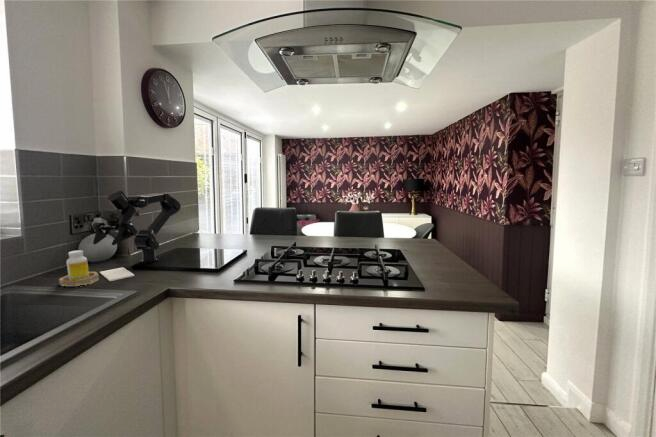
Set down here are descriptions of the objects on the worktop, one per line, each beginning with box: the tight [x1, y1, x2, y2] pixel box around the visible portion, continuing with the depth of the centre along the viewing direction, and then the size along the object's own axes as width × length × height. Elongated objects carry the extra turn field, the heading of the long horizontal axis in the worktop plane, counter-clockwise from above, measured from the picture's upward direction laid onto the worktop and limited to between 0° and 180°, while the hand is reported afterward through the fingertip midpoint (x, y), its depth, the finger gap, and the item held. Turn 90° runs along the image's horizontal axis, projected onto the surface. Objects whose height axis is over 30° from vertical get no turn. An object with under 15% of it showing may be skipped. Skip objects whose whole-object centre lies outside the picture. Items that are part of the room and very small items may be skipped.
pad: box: [99, 266, 135, 282], centre depth 140 cm, size 16×9×1 cm, turn 47°
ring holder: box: [58, 271, 100, 287], centre depth 131 cm, size 12×12×2 cm
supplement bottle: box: [65, 249, 90, 281], centre depth 130 cm, size 7×7×13 cm
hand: (103, 244), depth 135 cm, fingers open, 9 cm apart
